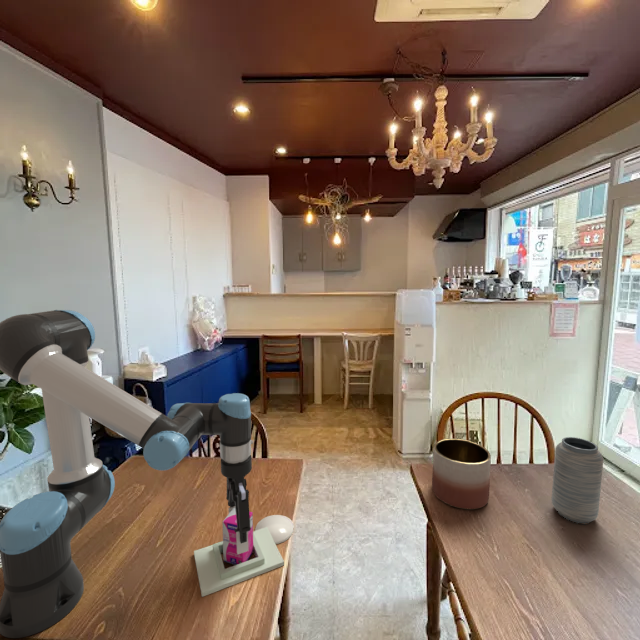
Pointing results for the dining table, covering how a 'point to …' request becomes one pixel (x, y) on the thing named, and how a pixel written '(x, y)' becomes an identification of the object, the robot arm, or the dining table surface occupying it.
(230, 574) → the header board
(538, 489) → the dining table surface
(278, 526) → the white egg-shaped stone
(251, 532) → the supplement box
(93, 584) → the dining table surface
